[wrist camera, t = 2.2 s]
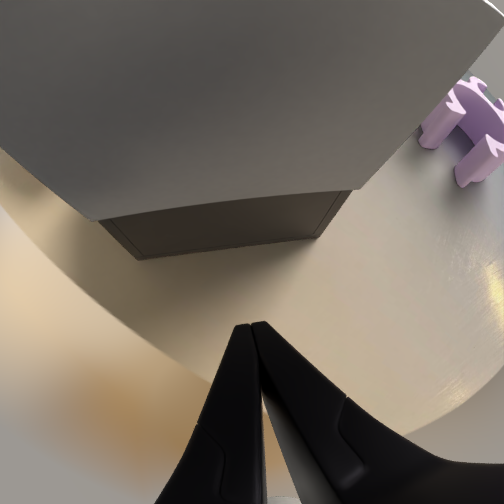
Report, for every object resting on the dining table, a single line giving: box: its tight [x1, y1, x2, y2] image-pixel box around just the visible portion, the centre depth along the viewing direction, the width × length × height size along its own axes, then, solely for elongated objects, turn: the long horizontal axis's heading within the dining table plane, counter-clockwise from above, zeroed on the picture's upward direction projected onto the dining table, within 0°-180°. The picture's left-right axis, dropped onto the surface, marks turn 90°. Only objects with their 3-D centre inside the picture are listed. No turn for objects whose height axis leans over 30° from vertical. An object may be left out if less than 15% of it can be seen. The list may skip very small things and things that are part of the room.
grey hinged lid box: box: [98, 190, 353, 260], centre depth 20 cm, size 12×15×8 cm
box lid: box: [0, 0, 504, 221], centre depth 8 cm, size 12×15×1 cm
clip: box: [418, 76, 504, 188], centre depth 26 cm, size 20×12×7 cm, turn 132°
